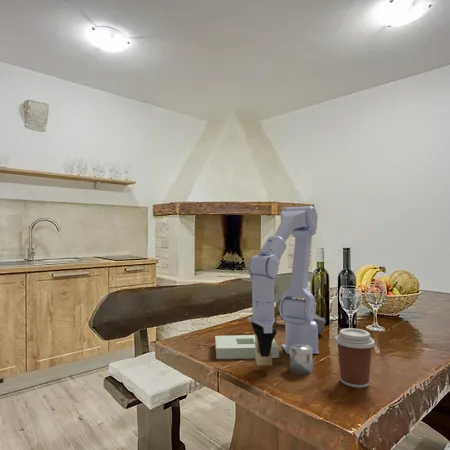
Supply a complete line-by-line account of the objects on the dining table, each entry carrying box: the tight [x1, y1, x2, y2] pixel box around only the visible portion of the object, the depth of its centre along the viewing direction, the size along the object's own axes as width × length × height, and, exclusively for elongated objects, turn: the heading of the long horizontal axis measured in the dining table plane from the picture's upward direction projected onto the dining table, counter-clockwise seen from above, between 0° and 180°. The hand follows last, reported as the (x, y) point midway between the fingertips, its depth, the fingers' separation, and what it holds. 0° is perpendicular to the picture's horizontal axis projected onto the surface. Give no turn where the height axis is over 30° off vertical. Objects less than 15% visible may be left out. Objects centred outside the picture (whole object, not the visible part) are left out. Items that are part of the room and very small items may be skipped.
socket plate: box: [214, 334, 280, 360], centre depth 107 cm, size 18×12×3 cm, turn 93°
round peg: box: [289, 344, 313, 375], centre depth 93 cm, size 6×6×6 cm
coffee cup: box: [334, 327, 376, 389], centre depth 86 cm, size 9×9×12 cm
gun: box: [274, 298, 327, 335], centre depth 133 cm, size 3×25×15 cm, turn 36°
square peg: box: [254, 333, 273, 366], centre depth 92 cm, size 4×4×7 cm
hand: (263, 353), depth 92 cm, fingers closed on square peg, 4 cm apart
